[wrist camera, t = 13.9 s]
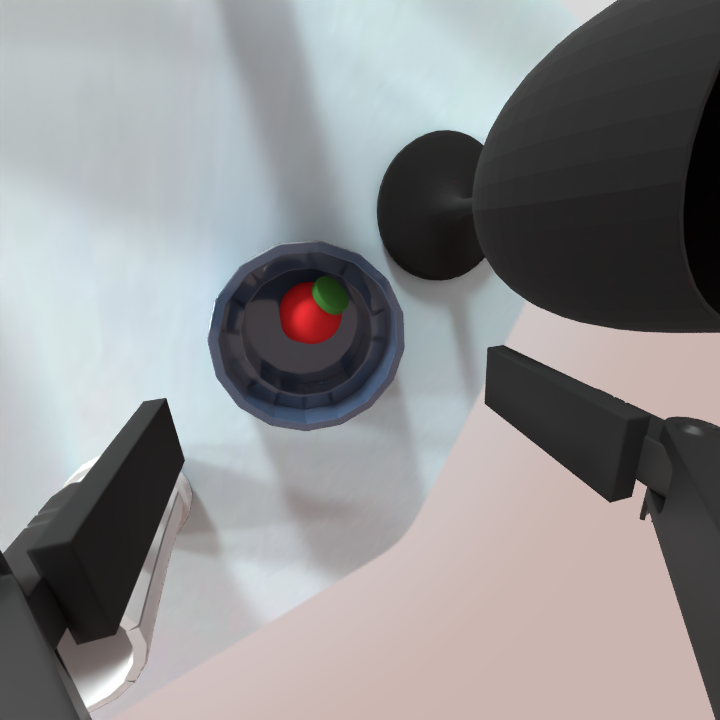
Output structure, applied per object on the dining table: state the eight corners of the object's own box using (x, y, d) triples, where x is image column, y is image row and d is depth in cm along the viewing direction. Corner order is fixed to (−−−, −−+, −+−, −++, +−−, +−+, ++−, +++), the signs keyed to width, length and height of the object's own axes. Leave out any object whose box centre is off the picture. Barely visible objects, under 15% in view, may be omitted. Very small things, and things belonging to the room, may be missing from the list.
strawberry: (306, 310, 28) (347, 272, 24) (320, 358, 26) (366, 324, 23) (258, 303, 25) (298, 258, 21) (271, 357, 23) (316, 317, 20)
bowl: (377, 234, 26) (400, 234, 21) (385, 385, 30) (406, 412, 26) (202, 249, 23) (186, 252, 19) (238, 411, 28) (232, 445, 23)
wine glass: (358, 260, 26) (568, 314, 8) (401, 105, 24) (865, -360, 5) (475, 295, 29) (817, 390, 11) (523, 161, 27) (1079, -5, 8)
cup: (49, 432, 25) (-124, 586, 14) (190, 424, 27) (136, 551, 16) (77, 548, 28) (-45, 747, 17) (200, 532, 30) (162, 699, 19)
